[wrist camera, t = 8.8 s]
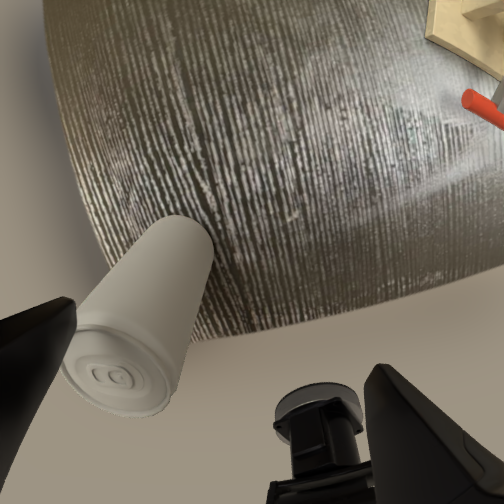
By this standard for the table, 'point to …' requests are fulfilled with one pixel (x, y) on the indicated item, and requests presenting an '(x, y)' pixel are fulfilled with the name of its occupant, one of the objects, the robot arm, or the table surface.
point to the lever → (486, 105)
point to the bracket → (470, 31)
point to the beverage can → (141, 321)
